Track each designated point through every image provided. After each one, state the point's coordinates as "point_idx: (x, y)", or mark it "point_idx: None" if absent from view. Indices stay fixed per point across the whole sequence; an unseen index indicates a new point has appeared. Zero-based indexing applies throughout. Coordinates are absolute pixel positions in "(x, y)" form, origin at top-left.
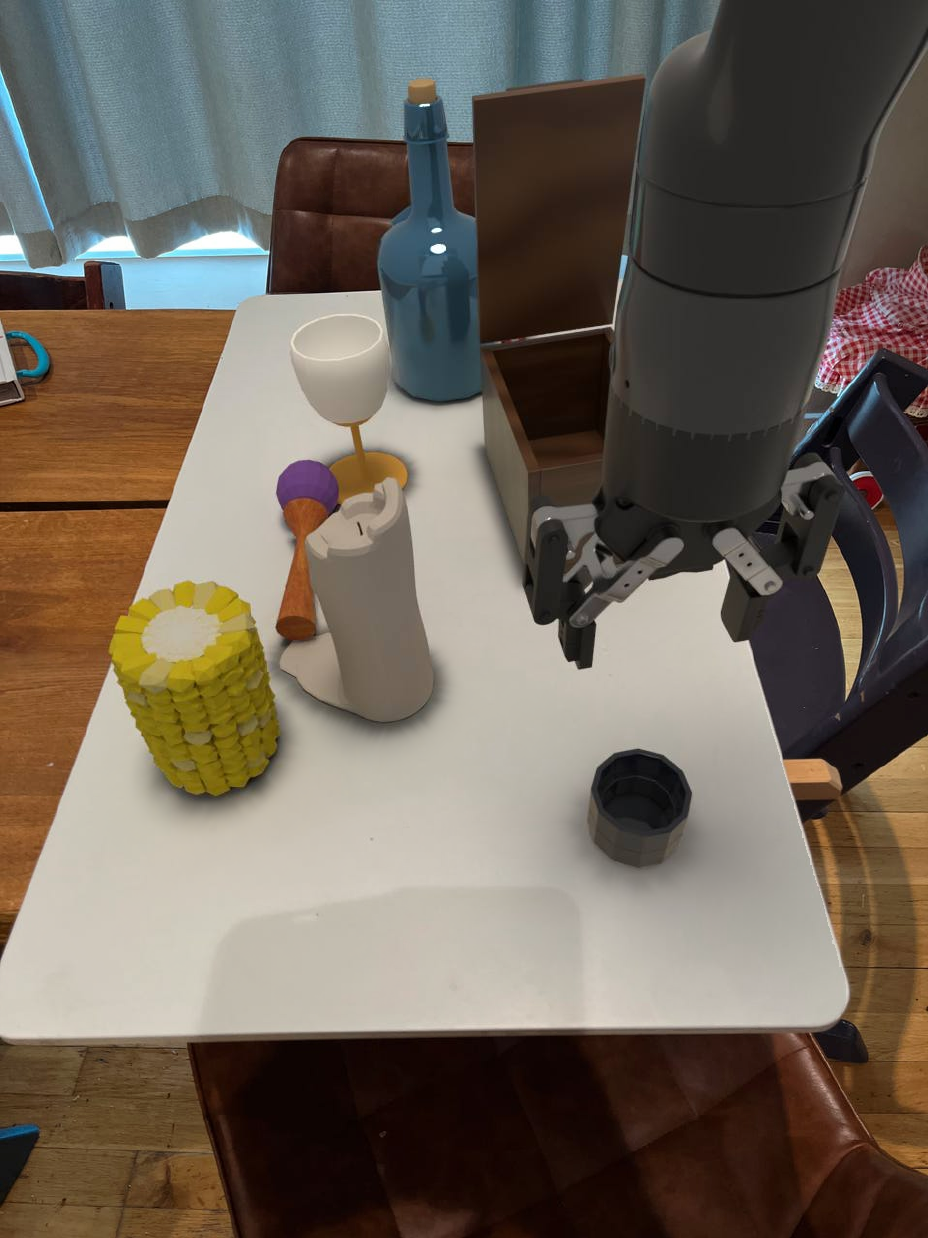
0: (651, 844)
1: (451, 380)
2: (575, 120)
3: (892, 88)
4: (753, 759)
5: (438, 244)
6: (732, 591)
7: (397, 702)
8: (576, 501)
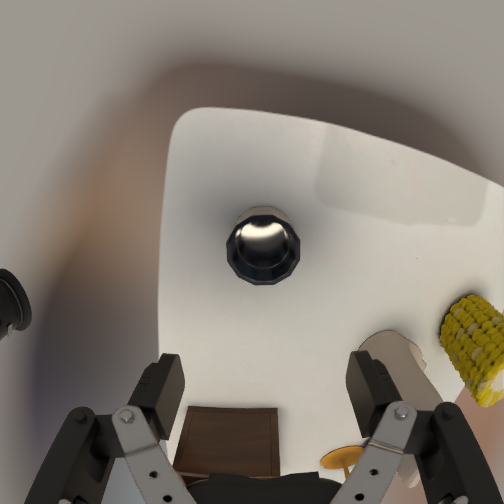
0: (265, 212)
1: None
2: None
3: None
4: (170, 269)
5: None
6: (171, 413)
7: (388, 341)
8: (246, 453)
